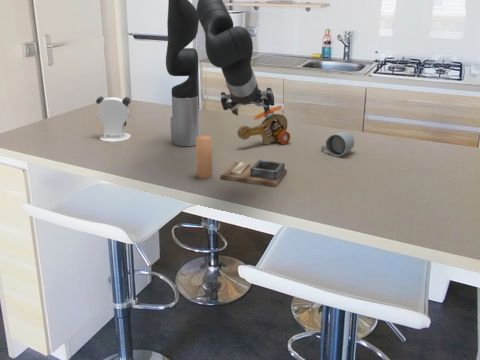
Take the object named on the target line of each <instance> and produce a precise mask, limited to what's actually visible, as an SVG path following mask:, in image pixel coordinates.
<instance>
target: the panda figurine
mask: <svg viewBox="0 0 480 360" xmlns="http://www.w3.org/2000/svg"><path fill="white" fill-rule="evenodd" d="M95 101H96V104H98V106H97V117H98V118H99V120H100V121H101V122H102V123H103V130H104V131H103V132H104V133H103V134H104V137H105V138H100V139H101V140H103V141H102V142H104V141H108V142H107V143H119V142H118V141H121V142H125V141H128V140H130V139H131V138H130V137H132V136H131V134H130V133H127V132H125V127H126V126H127V120H128V119H129V117H130V115H131V108H130V106H129V105H130V104H131V98H130V97H128V96H125V97H124V98H120V97H116V96H113V97H112V96H111V97H106V98H104V97H103V96H98V98H96V100H95ZM129 138H130V139H129ZM100 139H99V140H100ZM127 139H128V140H127ZM101 140H100V141H101ZM124 140H125V141H124Z"/></svg>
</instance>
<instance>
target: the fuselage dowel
mask: <svg viewBox="0 0 480 360" xmlns="http://www.w3.org/2000/svg"><path fill="white" fill-rule="evenodd" d="M212 139H213V138H212V136H210V135H205V134H204V135H203V134H202V135H199V136H197V137H196V145H195V152H196V155H195V156H196V158H195V159H196V163H195V164H196V177H197V178H199V179H203V180H204V179H205V180H206V179H210V178H212V177H213V147H212V146H213V145H212V144H213V142H212V141H213V140H212Z"/></svg>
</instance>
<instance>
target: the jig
mask: <svg viewBox="0 0 480 360" xmlns="http://www.w3.org/2000/svg"><path fill="white" fill-rule="evenodd" d="M287 169H288V168H285V162H280V161H271V160H264V159H258V160H257V161H256V162H255V163H254V164H252V163H249V162H242V161H240V162H238V161H237V162H236V161H234V162H233V163H232V164H231V165H230V166H229V167H228V168H227V169H226V170H224V171H223V173H221V174H220V179H221V180H226V181H233V182H240V183H245V184H246V183H247V184H253V185H259V186H267V187H272V188H273V187H274V188H276V187H277V186H279V184H280V183H281V182H282V180H283V178H284V177H285V176H286V175H287V171H288V170H287Z"/></svg>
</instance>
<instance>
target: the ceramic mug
mask: <svg viewBox="0 0 480 360" xmlns="http://www.w3.org/2000/svg"><path fill="white" fill-rule="evenodd" d="M354 146H355V138H354V136H353V135H352V134H351V133H350V132H347V131H340V132H337V133H333V134H331V135H329V136H328V138H327V139H326V140H325V144H323V145H321V146H320V149H321V151H322V152H323V151H327V152H328V154H329V155H331V156H332V157H342V156H343V155H345V154H347V153H348V152H350V151H351V150H352V149H353V148H354Z"/></svg>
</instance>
